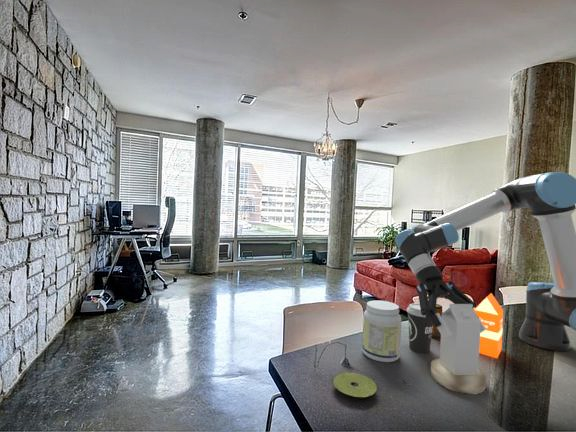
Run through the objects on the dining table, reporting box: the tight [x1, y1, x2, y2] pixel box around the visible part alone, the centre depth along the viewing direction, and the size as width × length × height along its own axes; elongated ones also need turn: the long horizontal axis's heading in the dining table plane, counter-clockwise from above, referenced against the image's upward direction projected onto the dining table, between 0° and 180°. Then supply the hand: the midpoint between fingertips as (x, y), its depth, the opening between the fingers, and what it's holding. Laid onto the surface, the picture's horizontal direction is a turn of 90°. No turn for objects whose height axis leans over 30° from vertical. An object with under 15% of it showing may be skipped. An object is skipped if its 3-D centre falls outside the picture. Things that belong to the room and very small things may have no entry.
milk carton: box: [439, 303, 481, 375], centre depth 88 cm, size 7×7×19 cm
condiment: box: [431, 303, 443, 341], centre depth 120 cm, size 7×8×12 cm
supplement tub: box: [362, 299, 402, 363], centre depth 102 cm, size 12×12×17 cm
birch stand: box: [430, 357, 487, 395], centre depth 88 cm, size 14×14×3 cm
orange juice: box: [473, 292, 504, 359], centre depth 108 cm, size 8×9×20 cm
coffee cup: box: [406, 302, 436, 354], centre depth 108 cm, size 10×10×15 cm
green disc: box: [332, 372, 378, 398], centre depth 81 cm, size 11×11×2 cm
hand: (465, 334), depth 86 cm, fingers open, 13 cm apart
